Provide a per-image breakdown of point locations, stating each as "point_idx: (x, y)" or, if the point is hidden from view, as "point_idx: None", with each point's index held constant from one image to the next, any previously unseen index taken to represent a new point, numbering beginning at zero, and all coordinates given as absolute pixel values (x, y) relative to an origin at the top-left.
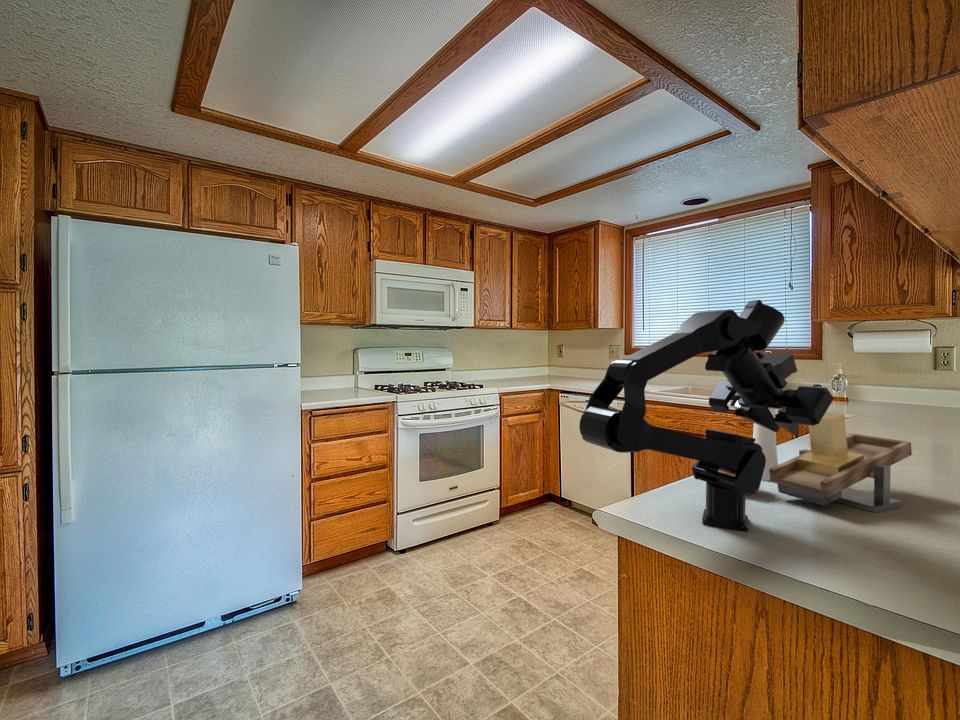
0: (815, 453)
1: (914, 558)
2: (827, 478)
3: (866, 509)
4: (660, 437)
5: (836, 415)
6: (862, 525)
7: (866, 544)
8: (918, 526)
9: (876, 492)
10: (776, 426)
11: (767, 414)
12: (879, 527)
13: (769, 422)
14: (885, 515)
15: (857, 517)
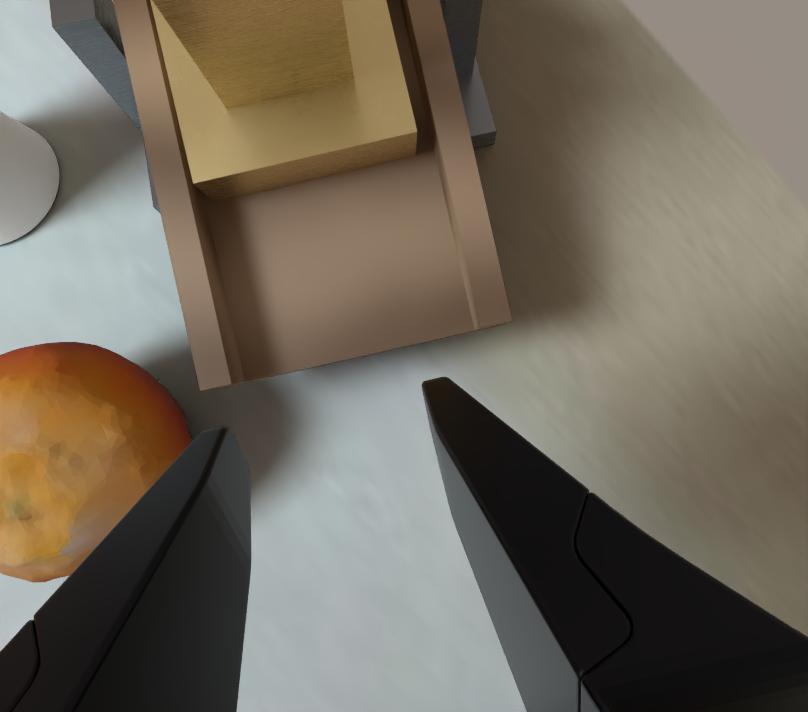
0: (239, 87)
1: None
2: (470, 268)
3: None
4: None
5: None
6: (597, 307)
7: (762, 464)
8: (632, 128)
9: (451, 47)
10: (226, 479)
11: (149, 701)
12: (623, 265)
13: (216, 622)
14: (521, 132)
15: (522, 249)
